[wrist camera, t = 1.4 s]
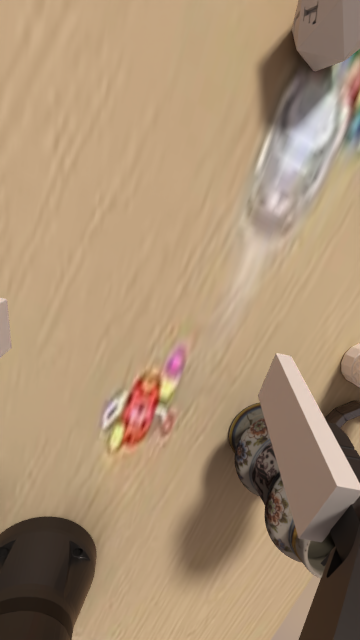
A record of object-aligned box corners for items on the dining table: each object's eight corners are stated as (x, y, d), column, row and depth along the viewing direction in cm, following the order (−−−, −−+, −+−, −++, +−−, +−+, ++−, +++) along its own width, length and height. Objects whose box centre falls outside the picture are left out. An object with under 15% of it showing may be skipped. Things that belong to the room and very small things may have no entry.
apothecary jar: (213, 464, 42) (272, 601, 25) (232, 390, 41) (308, 483, 23) (283, 468, 45) (381, 596, 28) (303, 399, 43) (421, 489, 26)
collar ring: (370, 477, 49) (380, 485, 47) (304, 472, 46) (312, 481, 44) (395, 406, 47) (407, 412, 45) (327, 397, 44) (337, 403, 42)
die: (296, -15, 33) (297, -59, 25) (385, -38, 30) (417, -96, 22) (287, 79, 38) (286, 66, 30) (364, 66, 35) (384, 49, 27)
